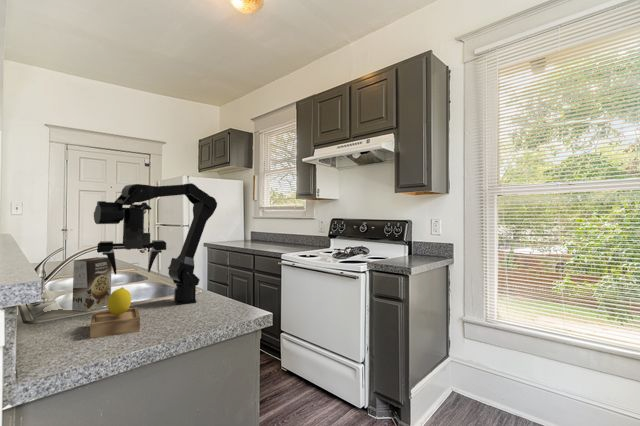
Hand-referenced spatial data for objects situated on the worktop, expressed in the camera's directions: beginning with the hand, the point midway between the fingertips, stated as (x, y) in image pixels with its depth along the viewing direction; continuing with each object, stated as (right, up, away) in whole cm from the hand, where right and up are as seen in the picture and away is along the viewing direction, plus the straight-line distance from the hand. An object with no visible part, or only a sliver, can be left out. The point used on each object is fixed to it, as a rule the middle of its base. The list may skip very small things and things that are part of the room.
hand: (132, 273), depth 106 cm
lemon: (+3, -10, -14) cm, 17 cm away
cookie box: (-16, -12, +5) cm, 21 cm away
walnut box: (+3, -13, -14) cm, 20 cm away
